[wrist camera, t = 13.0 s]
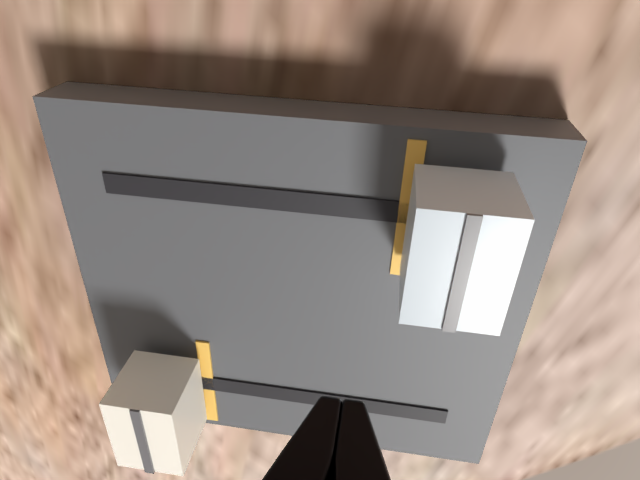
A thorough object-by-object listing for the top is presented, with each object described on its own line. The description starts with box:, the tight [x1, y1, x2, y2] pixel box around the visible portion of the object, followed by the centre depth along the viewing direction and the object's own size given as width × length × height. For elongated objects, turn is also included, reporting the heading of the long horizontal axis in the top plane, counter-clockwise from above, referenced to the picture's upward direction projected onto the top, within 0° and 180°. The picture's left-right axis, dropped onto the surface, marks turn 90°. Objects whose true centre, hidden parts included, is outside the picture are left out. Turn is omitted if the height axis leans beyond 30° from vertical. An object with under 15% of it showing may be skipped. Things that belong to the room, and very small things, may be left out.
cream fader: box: [99, 350, 207, 476], centre depth 22 cm, size 3×4×3 cm
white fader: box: [399, 164, 535, 336], centre depth 15 cm, size 3×4×3 cm
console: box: [33, 82, 587, 464], centre depth 21 cm, size 18×16×2 cm
